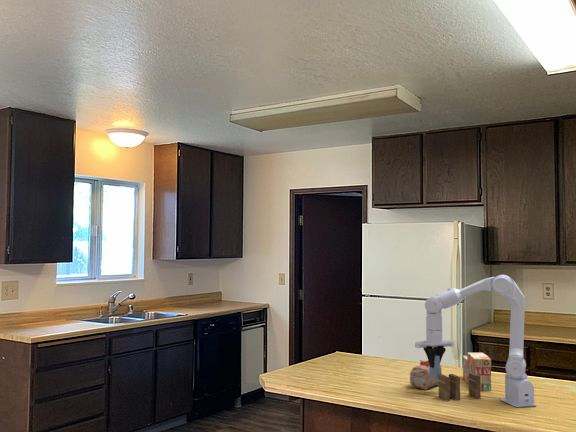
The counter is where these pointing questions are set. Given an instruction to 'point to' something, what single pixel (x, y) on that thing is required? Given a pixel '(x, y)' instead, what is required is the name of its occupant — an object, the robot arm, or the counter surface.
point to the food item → (423, 376)
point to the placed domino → (435, 368)
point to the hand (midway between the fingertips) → (434, 367)
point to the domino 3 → (474, 386)
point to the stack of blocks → (478, 369)
